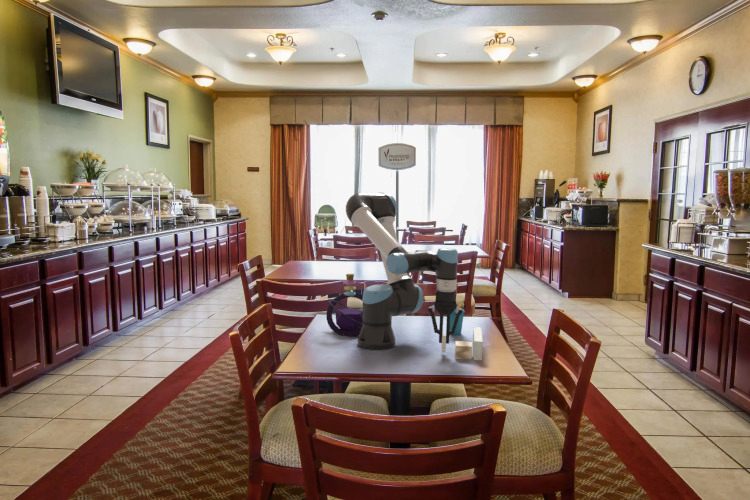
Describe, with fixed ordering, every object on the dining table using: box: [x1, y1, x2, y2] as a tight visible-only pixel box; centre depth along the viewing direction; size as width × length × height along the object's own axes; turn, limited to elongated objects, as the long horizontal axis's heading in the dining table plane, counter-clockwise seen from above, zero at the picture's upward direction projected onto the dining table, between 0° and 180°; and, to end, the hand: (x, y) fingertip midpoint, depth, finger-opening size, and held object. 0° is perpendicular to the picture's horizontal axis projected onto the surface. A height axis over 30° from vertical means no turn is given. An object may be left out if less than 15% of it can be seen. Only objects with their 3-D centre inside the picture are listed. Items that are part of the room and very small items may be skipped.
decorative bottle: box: [326, 273, 363, 337], centre depth 221 cm, size 22×21×25 cm
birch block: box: [454, 340, 473, 360], centre depth 190 cm, size 6×6×5 cm
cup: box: [450, 303, 466, 336], centre depth 220 cm, size 14×8×15 cm, turn 22°
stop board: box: [472, 326, 484, 361], centre depth 196 cm, size 3×20×7 cm, turn 170°
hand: (443, 351), depth 191 cm, fingers closed
